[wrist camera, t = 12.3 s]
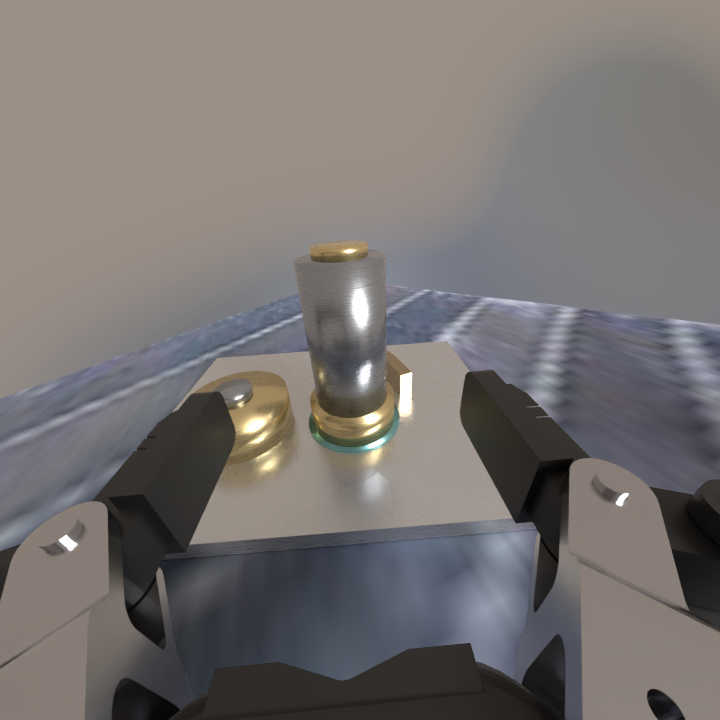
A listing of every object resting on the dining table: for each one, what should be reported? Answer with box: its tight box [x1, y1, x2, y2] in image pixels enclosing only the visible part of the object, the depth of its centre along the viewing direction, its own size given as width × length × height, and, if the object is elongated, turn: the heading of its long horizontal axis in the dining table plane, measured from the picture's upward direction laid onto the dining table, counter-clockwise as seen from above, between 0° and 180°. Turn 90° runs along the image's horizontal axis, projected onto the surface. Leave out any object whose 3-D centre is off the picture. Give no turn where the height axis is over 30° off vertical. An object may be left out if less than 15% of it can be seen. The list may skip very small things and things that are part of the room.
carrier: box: [163, 341, 536, 560], centre depth 21 cm, size 25×19×4 cm
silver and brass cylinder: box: [294, 241, 394, 447], centre depth 17 cm, size 6×6×12 cm
